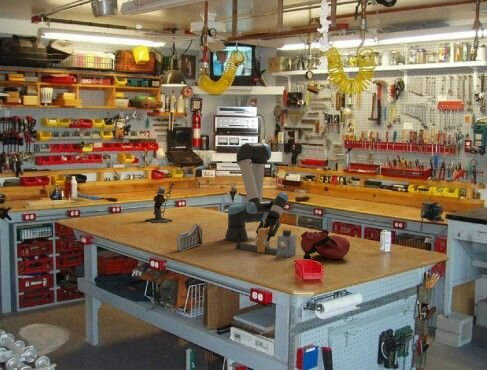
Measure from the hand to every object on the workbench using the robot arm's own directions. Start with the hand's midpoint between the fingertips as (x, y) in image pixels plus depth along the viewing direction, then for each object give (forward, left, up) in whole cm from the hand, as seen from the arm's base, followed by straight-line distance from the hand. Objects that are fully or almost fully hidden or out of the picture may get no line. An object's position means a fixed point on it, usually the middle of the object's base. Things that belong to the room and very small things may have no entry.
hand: (260, 244), depth 368 cm
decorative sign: (-41, -16, -6) cm, 44 cm away
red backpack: (+37, +10, -6) cm, 39 cm away
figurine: (-124, +48, -6) cm, 133 cm away
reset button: (+16, +4, +4) cm, 17 cm away
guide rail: (-3, +4, -5) cm, 7 cm away
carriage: (0, +4, -5) cm, 7 cm away
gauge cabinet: (+16, +4, -5) cm, 17 cm away
